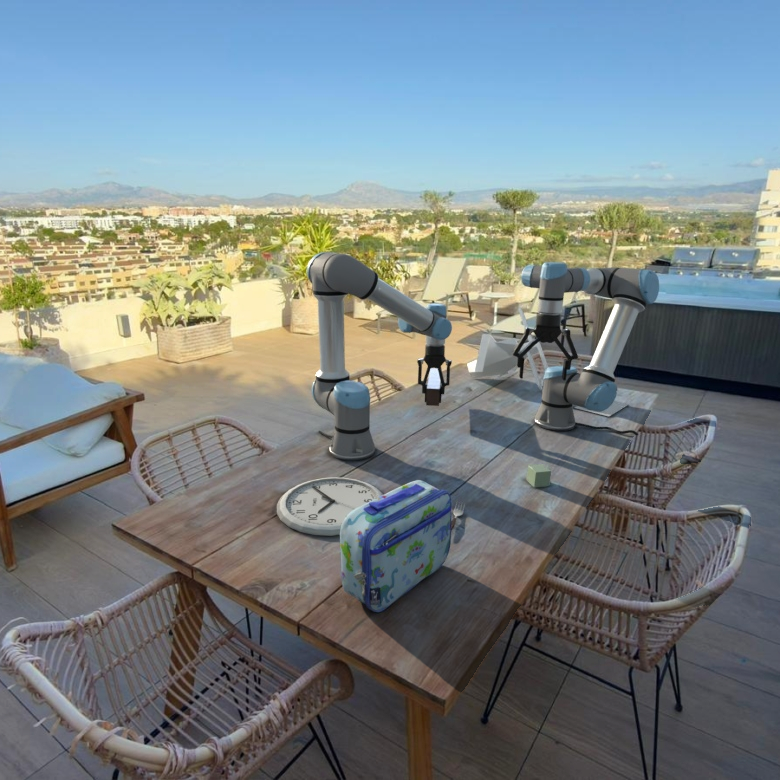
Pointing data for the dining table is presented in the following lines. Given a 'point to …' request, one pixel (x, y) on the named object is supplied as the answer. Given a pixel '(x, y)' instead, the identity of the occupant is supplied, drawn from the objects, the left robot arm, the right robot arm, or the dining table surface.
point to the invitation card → (608, 412)
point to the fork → (457, 514)
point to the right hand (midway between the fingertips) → (542, 378)
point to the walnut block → (433, 388)
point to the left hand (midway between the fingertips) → (432, 401)
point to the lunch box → (394, 543)
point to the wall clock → (323, 504)
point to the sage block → (538, 475)
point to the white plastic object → (503, 356)
